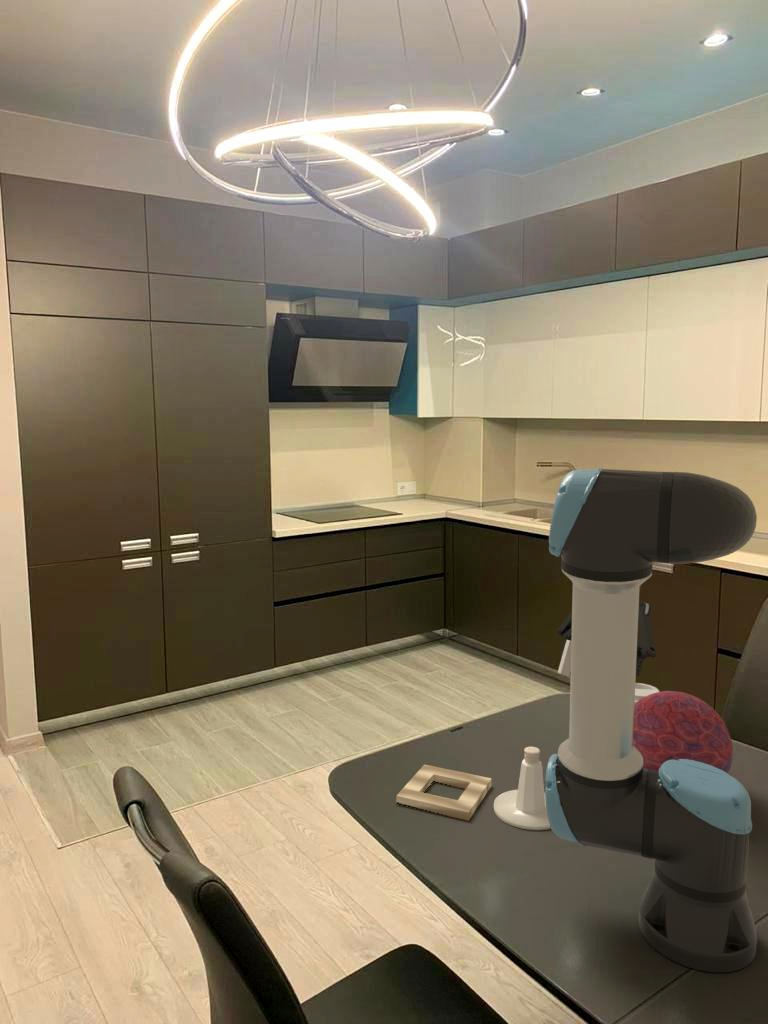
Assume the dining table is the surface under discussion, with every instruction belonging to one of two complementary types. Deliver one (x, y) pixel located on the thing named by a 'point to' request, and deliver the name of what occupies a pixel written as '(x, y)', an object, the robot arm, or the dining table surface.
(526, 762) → the pepper shaker
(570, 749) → the robot arm
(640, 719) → the decorative sphere
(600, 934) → the dining table surface
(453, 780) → the birch frame
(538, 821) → the white plate
